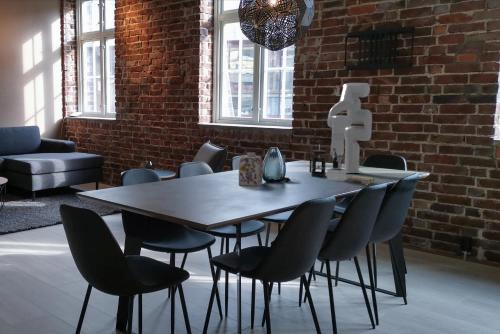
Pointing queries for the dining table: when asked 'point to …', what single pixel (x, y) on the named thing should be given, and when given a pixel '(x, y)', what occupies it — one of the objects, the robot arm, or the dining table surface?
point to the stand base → (336, 175)
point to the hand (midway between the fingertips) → (337, 167)
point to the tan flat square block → (360, 180)
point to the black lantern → (313, 164)
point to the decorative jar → (250, 170)
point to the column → (338, 163)
